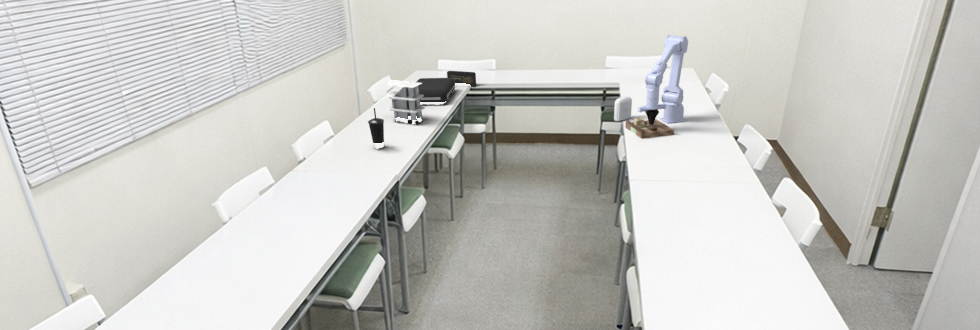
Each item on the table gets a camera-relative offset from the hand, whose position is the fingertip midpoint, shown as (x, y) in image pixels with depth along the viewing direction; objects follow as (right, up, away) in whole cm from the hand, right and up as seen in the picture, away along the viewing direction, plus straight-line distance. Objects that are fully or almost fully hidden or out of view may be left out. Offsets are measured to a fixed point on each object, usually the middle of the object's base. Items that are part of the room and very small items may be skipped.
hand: (651, 124), depth 285 cm
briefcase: (-120, +21, +79) cm, 146 cm away
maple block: (-6, -1, 0) cm, 6 cm away
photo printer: (-9, +4, +21) cm, 23 cm away
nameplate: (-100, +33, +106) cm, 149 cm away
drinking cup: (-135, -12, -3) cm, 136 cm away
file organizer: (-128, +4, +35) cm, 133 cm away
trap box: (-1, -3, +1) cm, 4 cm away
